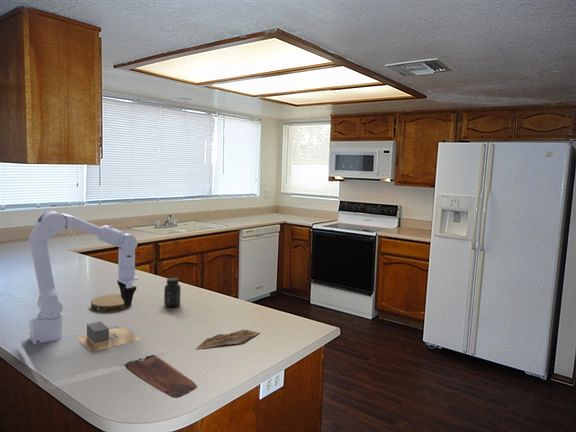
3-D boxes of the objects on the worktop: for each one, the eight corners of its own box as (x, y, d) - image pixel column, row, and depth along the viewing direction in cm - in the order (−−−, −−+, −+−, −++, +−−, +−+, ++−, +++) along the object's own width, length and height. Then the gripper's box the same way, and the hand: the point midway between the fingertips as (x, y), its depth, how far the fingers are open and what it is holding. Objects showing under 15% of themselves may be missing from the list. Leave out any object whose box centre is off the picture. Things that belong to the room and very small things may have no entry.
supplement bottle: (160, 306, 182) (161, 279, 181) (171, 302, 188) (172, 276, 187) (172, 309, 179) (173, 282, 177) (183, 305, 185) (184, 278, 184)
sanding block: (94, 346, 136) (94, 331, 136) (86, 338, 142) (86, 324, 141) (108, 343, 139) (108, 328, 139) (100, 335, 145) (100, 321, 144)
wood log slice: (106, 299, 189) (106, 292, 189) (138, 303, 186) (138, 296, 186) (82, 310, 174) (82, 303, 173) (117, 314, 170) (117, 307, 170)
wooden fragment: (251, 329, 162) (251, 326, 162) (266, 339, 153) (266, 336, 153) (188, 343, 147) (188, 340, 146) (201, 355, 138) (201, 352, 138)
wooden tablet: (202, 383, 117) (171, 392, 110) (201, 391, 117) (170, 401, 110) (153, 353, 135) (123, 359, 127) (152, 360, 135) (122, 366, 127)
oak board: (90, 356, 132) (90, 351, 132) (76, 340, 143) (76, 336, 143) (140, 344, 143) (140, 339, 143) (123, 330, 154) (123, 326, 154)
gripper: (141, 269, 150) (140, 306, 151) (135, 261, 163) (134, 295, 164) (120, 271, 146) (119, 308, 148) (115, 262, 159) (115, 297, 161)
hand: (126, 302), depth 156 cm, fingers open, 7 cm apart
